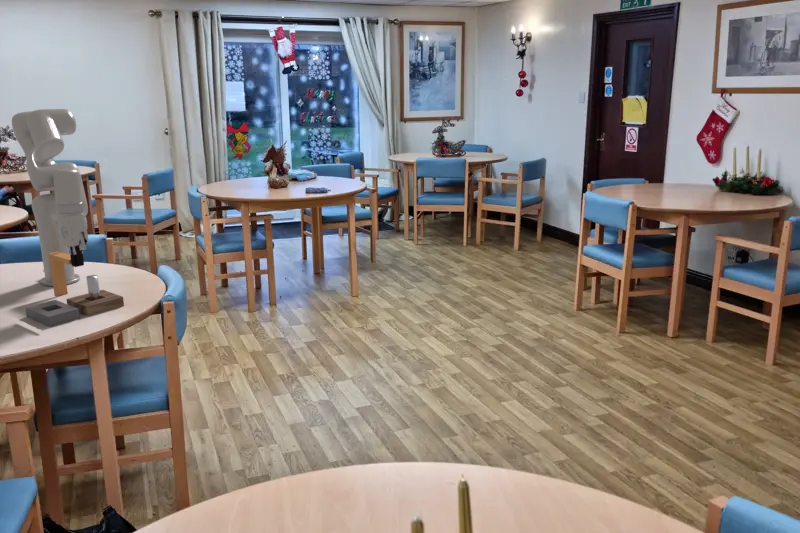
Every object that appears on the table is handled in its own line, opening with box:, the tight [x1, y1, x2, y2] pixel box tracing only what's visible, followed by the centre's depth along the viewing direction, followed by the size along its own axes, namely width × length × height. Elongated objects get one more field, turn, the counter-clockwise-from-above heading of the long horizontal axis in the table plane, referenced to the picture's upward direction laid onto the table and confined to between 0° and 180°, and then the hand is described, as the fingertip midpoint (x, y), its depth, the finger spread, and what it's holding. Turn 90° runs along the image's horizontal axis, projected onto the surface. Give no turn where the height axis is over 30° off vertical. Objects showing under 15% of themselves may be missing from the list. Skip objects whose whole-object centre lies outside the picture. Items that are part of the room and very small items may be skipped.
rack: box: [25, 299, 81, 328], centre depth 205 cm, size 14×9×4 cm, turn 53°
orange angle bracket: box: [49, 252, 71, 298], centre depth 222 cm, size 14×4×15 cm, turn 53°
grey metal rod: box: [85, 274, 101, 301], centre depth 213 cm, size 3×3×10 cm
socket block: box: [66, 289, 125, 317], centre depth 214 cm, size 12×12×4 cm
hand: (78, 265), depth 216 cm, fingers closed
